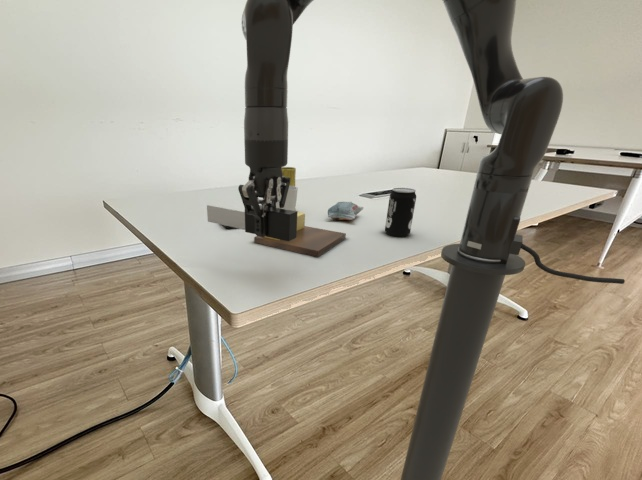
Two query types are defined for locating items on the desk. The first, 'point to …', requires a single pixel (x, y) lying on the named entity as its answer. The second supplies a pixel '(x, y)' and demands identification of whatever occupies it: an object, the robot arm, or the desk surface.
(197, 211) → the desk surface
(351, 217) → the packaged food
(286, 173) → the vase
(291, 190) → the cup
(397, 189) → the beverage can
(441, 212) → the desk surface
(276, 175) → the robot arm
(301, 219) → the butter
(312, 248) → the board
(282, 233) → the knife
